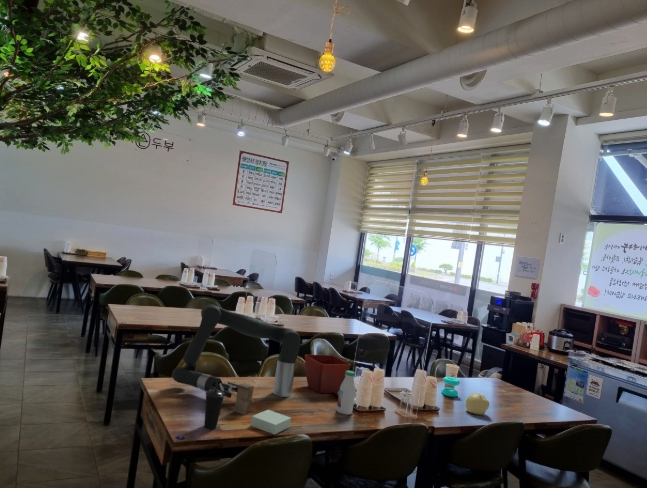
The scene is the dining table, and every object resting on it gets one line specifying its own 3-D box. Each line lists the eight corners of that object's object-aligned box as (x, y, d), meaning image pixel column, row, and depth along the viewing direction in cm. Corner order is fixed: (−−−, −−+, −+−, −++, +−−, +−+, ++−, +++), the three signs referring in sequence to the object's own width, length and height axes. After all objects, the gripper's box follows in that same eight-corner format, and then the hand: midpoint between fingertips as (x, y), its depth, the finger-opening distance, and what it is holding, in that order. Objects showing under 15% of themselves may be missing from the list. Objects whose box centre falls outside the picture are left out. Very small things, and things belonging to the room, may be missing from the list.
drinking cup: (202, 422, 208) (209, 374, 208) (220, 424, 209) (228, 376, 209) (199, 429, 201) (206, 379, 200) (218, 431, 201) (226, 382, 201)
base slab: (266, 418, 223) (268, 409, 223) (289, 427, 218) (291, 417, 218) (250, 425, 213) (252, 416, 212) (274, 434, 207) (275, 424, 207)
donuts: (449, 380, 302) (440, 375, 311) (446, 397, 302) (437, 391, 311) (463, 381, 305) (454, 376, 314) (461, 398, 305) (451, 392, 315)
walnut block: (241, 408, 230) (245, 382, 230) (249, 412, 228) (254, 385, 228) (234, 411, 226) (238, 384, 226) (243, 414, 224) (247, 387, 223)
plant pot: (328, 383, 292) (333, 354, 292) (346, 395, 276) (351, 364, 276) (299, 384, 282) (304, 354, 282) (316, 396, 266) (321, 364, 266)
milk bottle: (353, 411, 250) (360, 371, 250) (349, 416, 243) (355, 375, 242) (339, 407, 252) (345, 368, 252) (334, 412, 245) (340, 371, 245)
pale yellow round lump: (490, 417, 275) (493, 398, 275) (470, 415, 273) (473, 396, 273) (480, 410, 286) (483, 391, 286) (460, 408, 284) (463, 389, 284)
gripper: (200, 378, 230) (228, 388, 223) (220, 373, 243) (247, 382, 235) (197, 394, 230) (225, 405, 223) (218, 388, 243) (245, 398, 235)
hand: (236, 393), depth 229 cm, fingers open, 8 cm apart
